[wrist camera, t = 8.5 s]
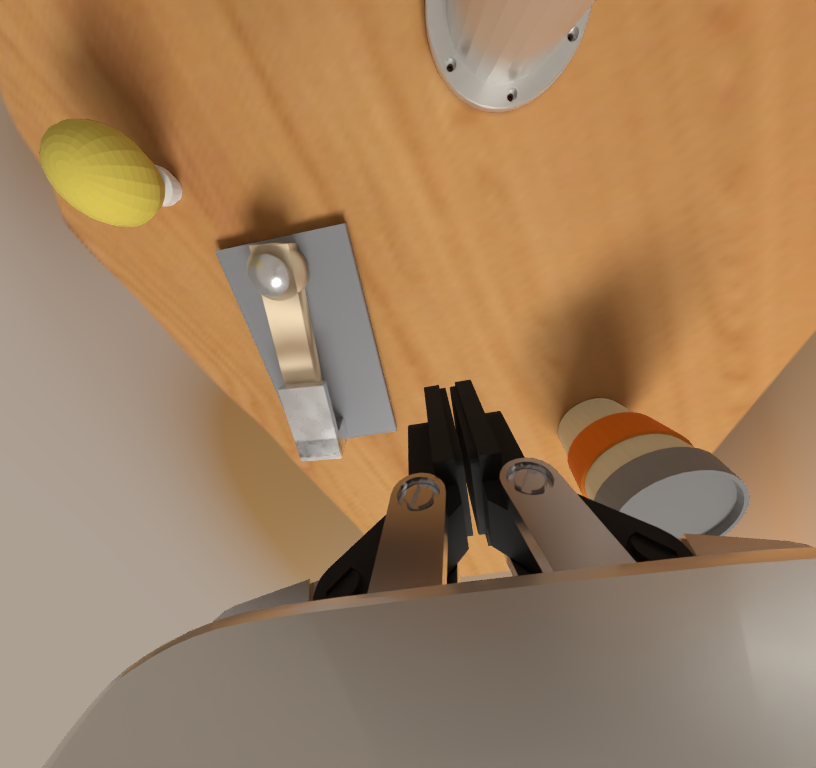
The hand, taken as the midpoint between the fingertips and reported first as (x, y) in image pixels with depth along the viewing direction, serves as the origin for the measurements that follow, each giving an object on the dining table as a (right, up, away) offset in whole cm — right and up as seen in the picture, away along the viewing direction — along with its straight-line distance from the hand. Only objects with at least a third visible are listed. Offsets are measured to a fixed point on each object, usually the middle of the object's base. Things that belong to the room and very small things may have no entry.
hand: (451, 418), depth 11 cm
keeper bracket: (-13, -2, +28) cm, 31 cm away
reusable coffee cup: (+24, -4, +31) cm, 39 cm away
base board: (-12, +5, +25) cm, 29 cm away
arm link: (-14, +7, +23) cm, 28 cm away
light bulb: (-24, +20, +18) cm, 36 cm away
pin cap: (-14, +12, +18) cm, 26 cm away
